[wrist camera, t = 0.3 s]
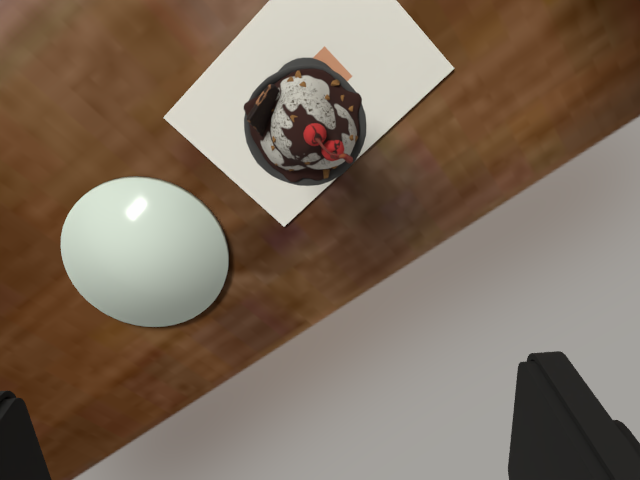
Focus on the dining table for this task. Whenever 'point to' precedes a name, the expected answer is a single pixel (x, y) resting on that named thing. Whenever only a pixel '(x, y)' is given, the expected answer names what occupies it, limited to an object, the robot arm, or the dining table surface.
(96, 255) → the plate
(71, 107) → the dining table surface
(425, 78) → the tile
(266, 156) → the sundae
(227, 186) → the dining table surface
